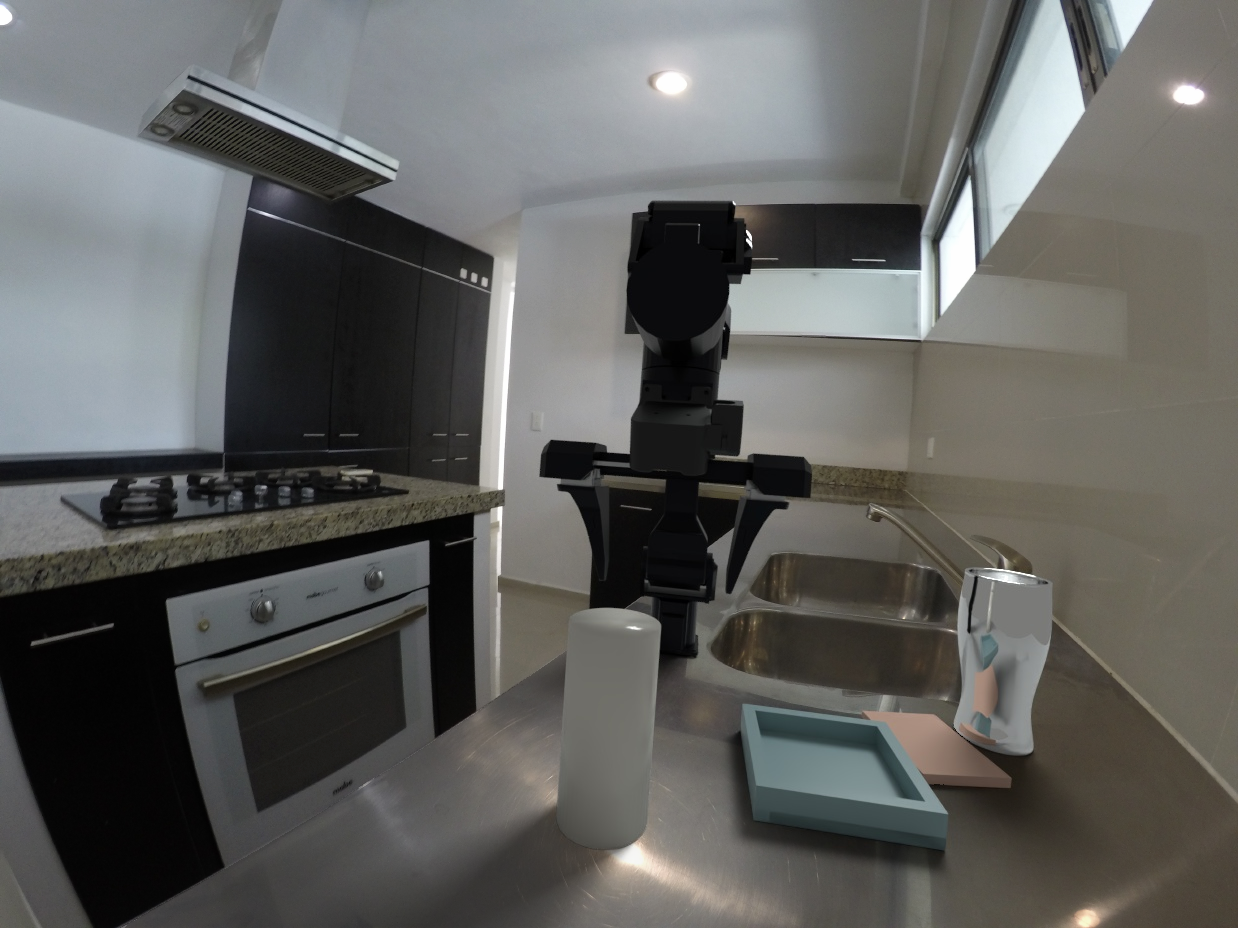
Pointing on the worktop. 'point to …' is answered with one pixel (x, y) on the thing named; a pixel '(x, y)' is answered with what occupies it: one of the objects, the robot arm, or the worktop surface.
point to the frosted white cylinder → (607, 727)
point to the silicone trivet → (941, 751)
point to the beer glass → (1001, 656)
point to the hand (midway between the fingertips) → (664, 586)
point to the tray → (837, 777)
